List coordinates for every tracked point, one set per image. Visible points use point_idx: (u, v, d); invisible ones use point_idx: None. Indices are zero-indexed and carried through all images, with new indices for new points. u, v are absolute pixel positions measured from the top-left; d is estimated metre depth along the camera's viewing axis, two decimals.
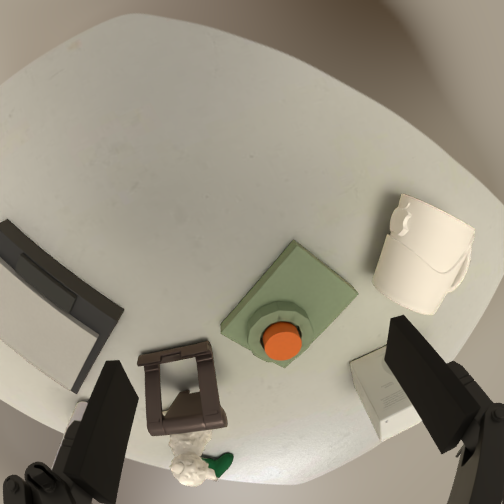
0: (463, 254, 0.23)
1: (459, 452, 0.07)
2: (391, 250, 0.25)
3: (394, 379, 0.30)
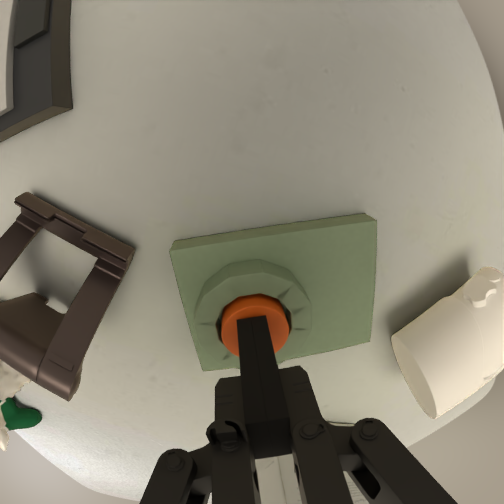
0: (498, 371, 0.15)
1: (295, 468, 0.09)
2: (454, 314, 0.16)
3: None
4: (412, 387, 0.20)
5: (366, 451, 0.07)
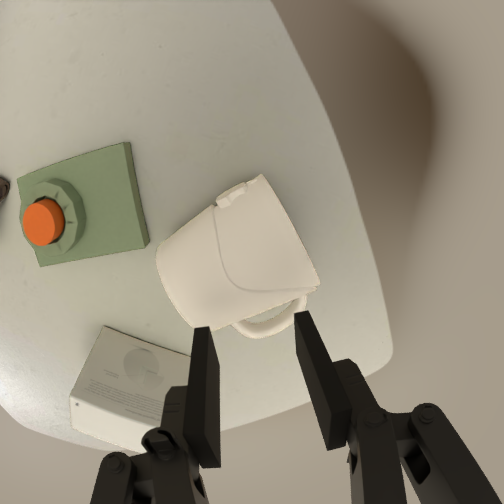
0: (279, 290, 0.20)
1: (348, 458, 0.09)
2: (199, 216, 0.21)
3: (122, 375, 0.24)
4: None
5: (423, 433, 0.07)
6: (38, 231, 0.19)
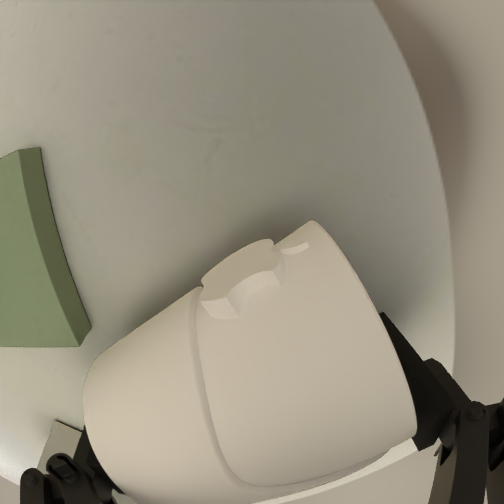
0: (342, 473, 0.07)
1: (437, 451, 0.08)
2: (161, 326, 0.08)
3: None
4: None
5: None
6: None
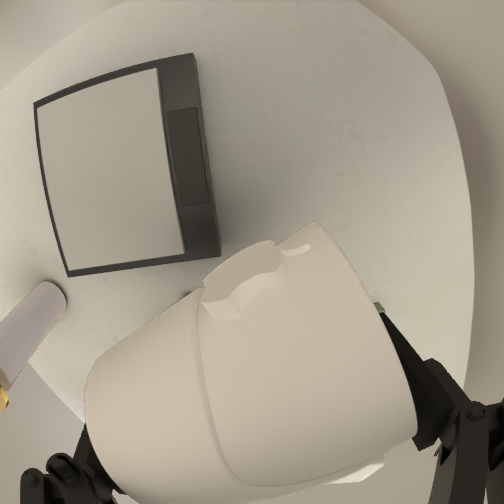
0: (342, 473, 0.07)
1: (437, 451, 0.08)
2: (163, 327, 0.08)
3: None
4: None
5: None
6: None
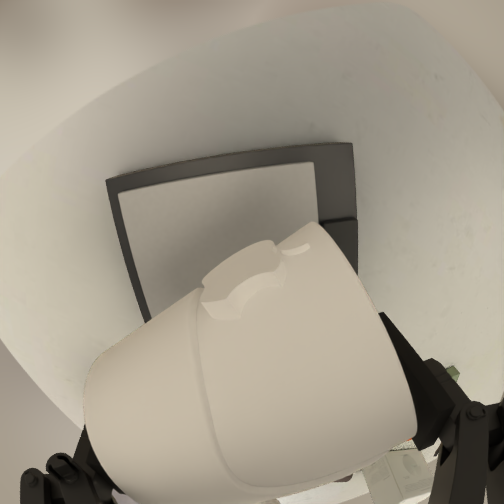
0: (342, 473, 0.07)
1: (437, 451, 0.08)
2: (162, 327, 0.08)
3: (410, 475, 0.31)
4: None
5: None
6: None
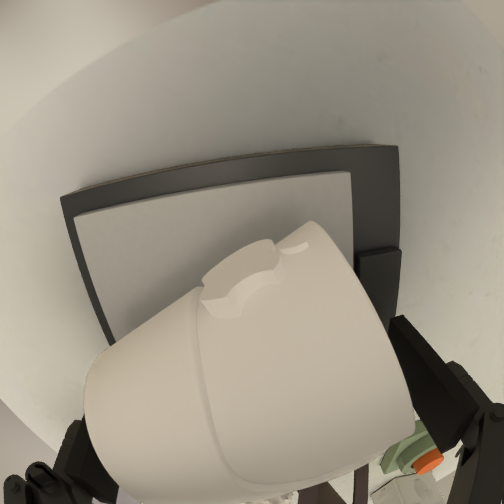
0: (341, 471, 0.07)
1: (458, 452, 0.07)
2: (162, 325, 0.08)
3: (421, 501, 0.26)
4: None
5: None
6: (428, 468, 0.22)
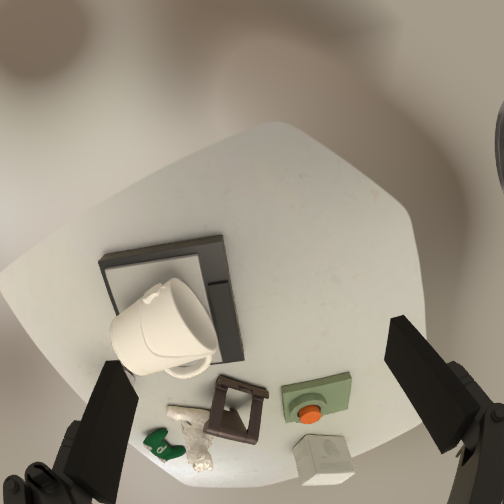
0: (182, 356, 0.29)
1: (459, 452, 0.07)
2: (133, 306, 0.30)
3: (327, 456, 0.48)
4: None
5: None
6: (310, 419, 0.44)
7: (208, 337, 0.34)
